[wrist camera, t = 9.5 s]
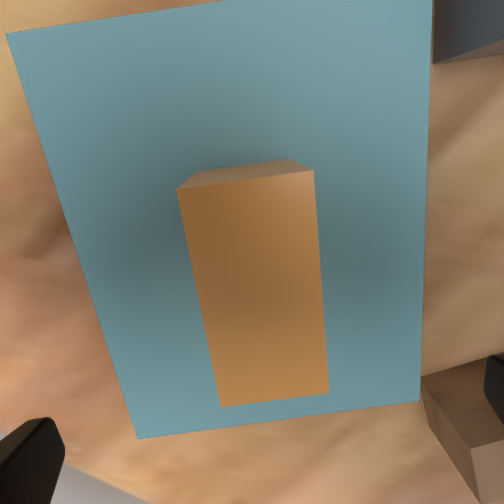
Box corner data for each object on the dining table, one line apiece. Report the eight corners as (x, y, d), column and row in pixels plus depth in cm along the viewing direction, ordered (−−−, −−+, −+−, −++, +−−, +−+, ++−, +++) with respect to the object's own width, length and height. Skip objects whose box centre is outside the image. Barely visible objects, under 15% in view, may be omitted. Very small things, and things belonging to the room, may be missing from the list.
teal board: (407, 382, 20) (419, 400, 19) (144, 418, 21) (137, 439, 19) (413, -15, 14) (433, -31, 13) (28, 43, 14) (5, 33, 13)
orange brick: (304, 321, 17) (329, 392, 12) (225, 332, 17) (220, 407, 12) (289, 158, 15) (313, 170, 10) (196, 171, 15) (176, 189, 10)
